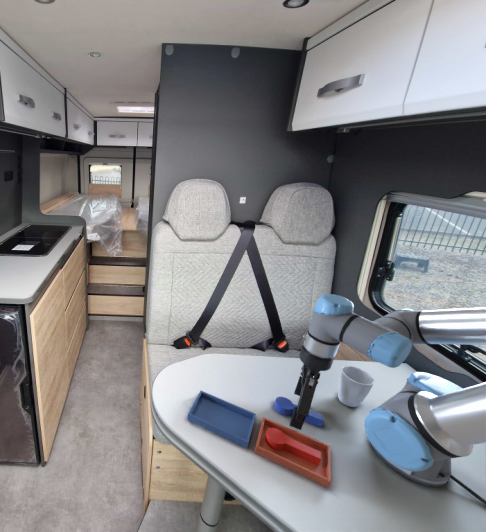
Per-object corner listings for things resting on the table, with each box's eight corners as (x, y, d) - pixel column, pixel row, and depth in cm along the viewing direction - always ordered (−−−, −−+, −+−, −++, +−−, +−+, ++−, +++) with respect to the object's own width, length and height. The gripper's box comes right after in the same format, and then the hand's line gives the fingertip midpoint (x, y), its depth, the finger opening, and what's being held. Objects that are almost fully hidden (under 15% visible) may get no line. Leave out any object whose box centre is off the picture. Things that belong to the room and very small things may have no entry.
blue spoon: (321, 418, 88) (323, 412, 87) (321, 430, 84) (323, 424, 83) (275, 400, 94) (276, 394, 93) (272, 410, 90) (274, 404, 89)
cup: (368, 413, 91) (380, 387, 87) (338, 408, 92) (349, 381, 88) (356, 393, 98) (366, 368, 94) (328, 388, 100) (337, 363, 96)
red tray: (328, 451, 79) (330, 445, 78) (328, 488, 70) (331, 482, 69) (261, 422, 86) (262, 416, 85) (254, 452, 77) (255, 446, 77)
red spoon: (318, 454, 77) (321, 447, 76) (318, 470, 73) (321, 463, 72) (266, 431, 83) (268, 424, 82) (263, 444, 79) (265, 438, 78)
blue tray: (254, 419, 87) (256, 413, 86) (246, 448, 78) (248, 442, 77) (199, 395, 94) (200, 390, 94) (187, 419, 86) (187, 414, 85)
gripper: (305, 324, 93) (287, 379, 101) (299, 372, 72) (277, 435, 81) (334, 332, 89) (313, 388, 97) (336, 385, 69) (310, 450, 77)
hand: (297, 410), depth 89 cm, fingers open, 13 cm apart
